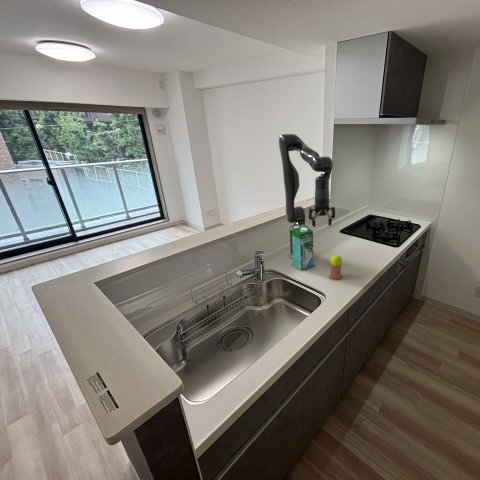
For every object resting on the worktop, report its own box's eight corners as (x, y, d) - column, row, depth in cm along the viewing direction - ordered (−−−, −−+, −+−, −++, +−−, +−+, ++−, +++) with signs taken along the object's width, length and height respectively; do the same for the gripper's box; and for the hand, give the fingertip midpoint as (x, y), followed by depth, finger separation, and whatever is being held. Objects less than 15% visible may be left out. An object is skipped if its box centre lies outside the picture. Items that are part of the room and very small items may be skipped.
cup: (329, 275, 148) (329, 262, 145) (338, 273, 149) (339, 261, 146) (332, 280, 143) (332, 267, 140) (342, 278, 144) (342, 266, 141)
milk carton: (301, 270, 154) (300, 230, 144) (292, 264, 160) (291, 226, 151) (313, 266, 159) (313, 227, 149) (304, 260, 165) (303, 223, 156)
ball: (328, 264, 146) (328, 254, 143) (339, 262, 147) (339, 252, 144) (332, 269, 140) (332, 258, 137) (343, 268, 141) (343, 257, 139)
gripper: (332, 194, 140) (332, 223, 146) (307, 196, 138) (307, 225, 144) (337, 197, 133) (336, 227, 139) (310, 199, 131) (310, 229, 137)
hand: (321, 226), depth 142 cm, fingers open, 8 cm apart
